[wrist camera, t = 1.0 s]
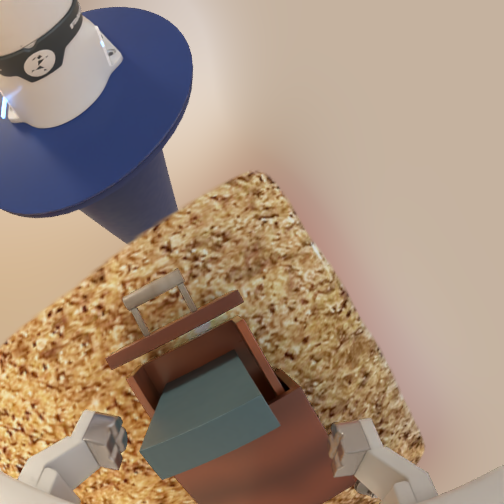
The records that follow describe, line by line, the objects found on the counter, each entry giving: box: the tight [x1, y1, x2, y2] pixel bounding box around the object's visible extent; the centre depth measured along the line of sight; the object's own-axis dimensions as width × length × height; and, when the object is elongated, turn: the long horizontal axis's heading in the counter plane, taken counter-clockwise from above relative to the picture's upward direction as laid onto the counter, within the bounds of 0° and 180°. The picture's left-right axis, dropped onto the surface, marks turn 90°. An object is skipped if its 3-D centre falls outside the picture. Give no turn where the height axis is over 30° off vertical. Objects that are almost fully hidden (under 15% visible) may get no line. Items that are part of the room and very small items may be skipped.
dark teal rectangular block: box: [140, 349, 281, 480], centre depth 22 cm, size 2×8×15 cm, turn 118°
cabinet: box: [174, 369, 356, 504], centre depth 27 cm, size 15×15×8 cm
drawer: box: [105, 268, 285, 420], centre depth 28 cm, size 18×13×6 cm
